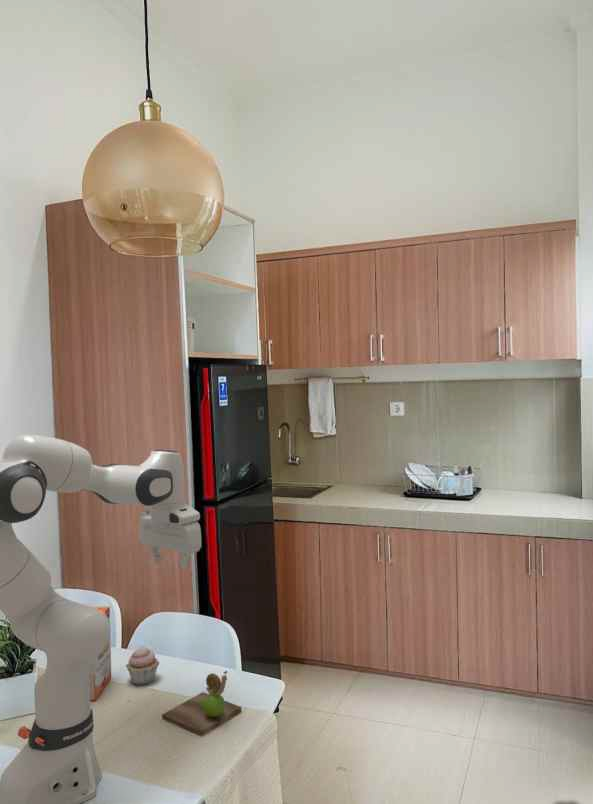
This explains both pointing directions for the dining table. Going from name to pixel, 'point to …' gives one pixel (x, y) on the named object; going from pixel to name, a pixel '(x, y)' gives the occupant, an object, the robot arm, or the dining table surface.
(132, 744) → the dining table surface
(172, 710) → the walnut board
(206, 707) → the snail figurine
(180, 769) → the dining table surface
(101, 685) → the cracker box
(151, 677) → the cupcake
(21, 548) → the robot arm
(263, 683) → the dining table surface
